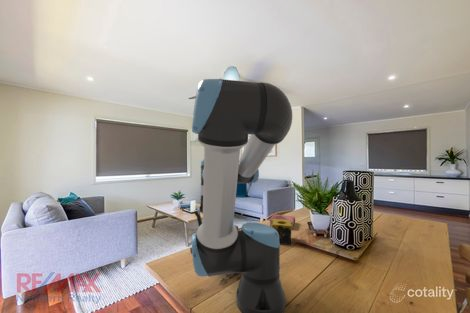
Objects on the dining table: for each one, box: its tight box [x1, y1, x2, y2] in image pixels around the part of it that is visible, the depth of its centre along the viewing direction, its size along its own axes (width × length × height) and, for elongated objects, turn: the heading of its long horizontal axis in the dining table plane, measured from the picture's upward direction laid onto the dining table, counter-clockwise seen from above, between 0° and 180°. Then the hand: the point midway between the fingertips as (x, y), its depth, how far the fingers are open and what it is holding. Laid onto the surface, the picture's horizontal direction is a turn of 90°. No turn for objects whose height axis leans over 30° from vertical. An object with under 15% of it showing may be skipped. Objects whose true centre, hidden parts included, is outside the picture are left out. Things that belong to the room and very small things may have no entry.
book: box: [268, 213, 296, 231], centre depth 136 cm, size 14×15×5 cm
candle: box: [272, 219, 292, 246], centre depth 111 cm, size 10×10×10 cm
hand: (208, 248), depth 90 cm, fingers closed
